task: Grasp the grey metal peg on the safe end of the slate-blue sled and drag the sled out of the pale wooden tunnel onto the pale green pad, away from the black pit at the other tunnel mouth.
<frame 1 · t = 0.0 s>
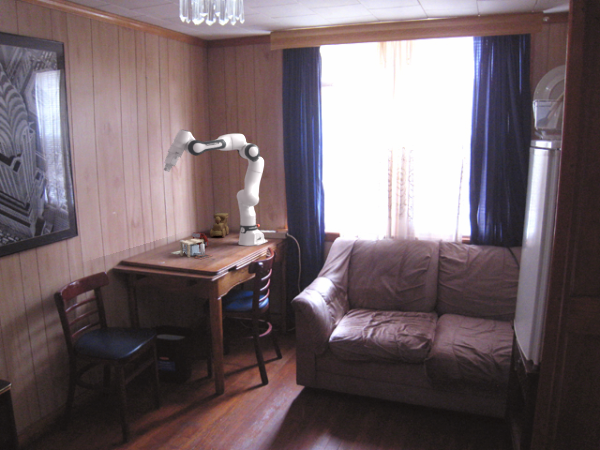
hand: (166, 170, 329), 54 cm above the table, tool tilted 30°, fingers open, 8 cm apart
pit: (203, 257, 323), on the table
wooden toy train: (220, 236, 391), on the table
tunnel: (192, 254, 329), on the table
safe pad: (179, 252, 336), on the table
sled: (192, 248, 328), point 5 cm above the table, slide at 0.0 cm
toy fire truck: (200, 247, 351), on the table
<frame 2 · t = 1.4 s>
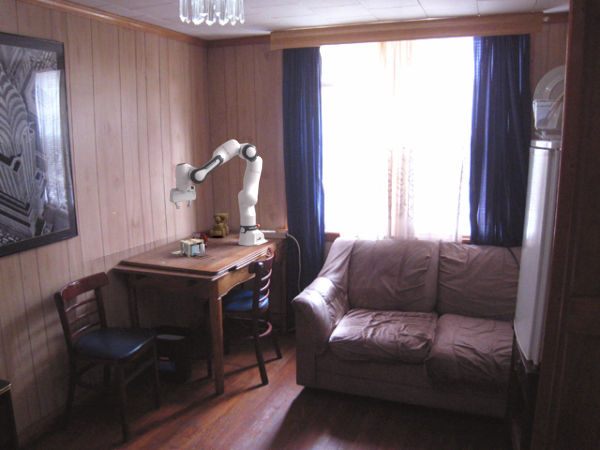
hand: (183, 207, 338), 29 cm above the table, tool pointing down, fingers open, 8 cm apart
nothing on the table moved.
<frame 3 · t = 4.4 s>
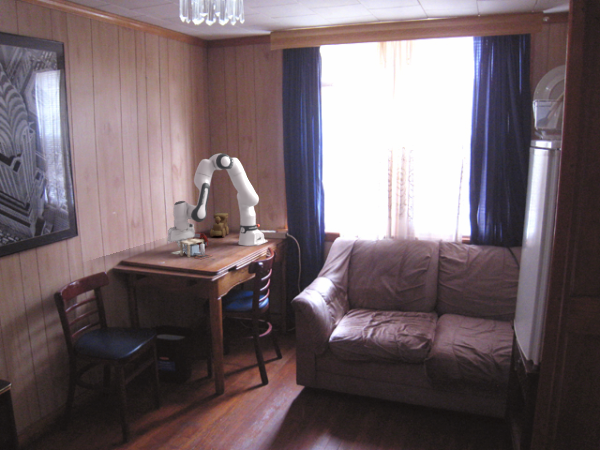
hand: (181, 246, 334), 5 cm above the table, tool pointing down, fingers closed on sled, 3 cm apart
sled: (192, 248, 328), point 5 cm above the table, slide at 0.0 cm, touching gripper
everything else where it was.
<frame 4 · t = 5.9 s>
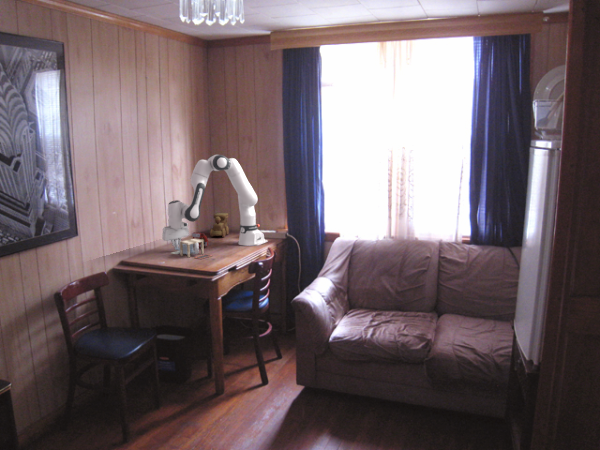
hand: (176, 245, 337), 5 cm above the table, tool pointing down, fingers closed on sled, 3 cm apart
sled: (186, 247, 331), point 5 cm above the table, slide at 5.6 cm, touching gripper
everything else where it was.
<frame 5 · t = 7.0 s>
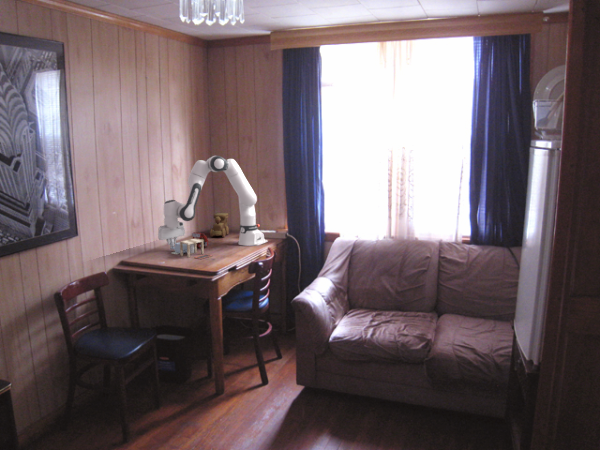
hand: (172, 244, 340), 5 cm above the table, tool pointing down, fingers closed on sled, 2 cm apart
sled: (181, 246, 334), point 5 cm above the table, slide at 9.9 cm, touching gripper
everything else where it was.
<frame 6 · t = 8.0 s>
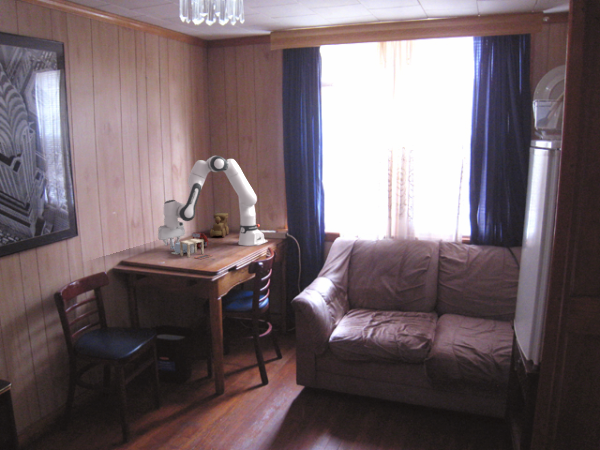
hand: (172, 244, 340), 5 cm above the table, tool pointing down, fingers open, 8 cm apart
sled: (181, 246, 334), point 5 cm above the table, slide at 10.0 cm
everything else where it was.
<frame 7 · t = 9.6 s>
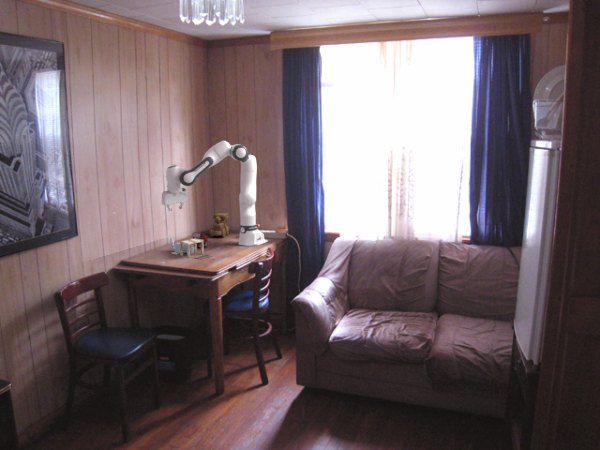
hand: (175, 209, 342), 27 cm above the table, tool pointing down, fingers open, 8 cm apart
nothing on the table moved.
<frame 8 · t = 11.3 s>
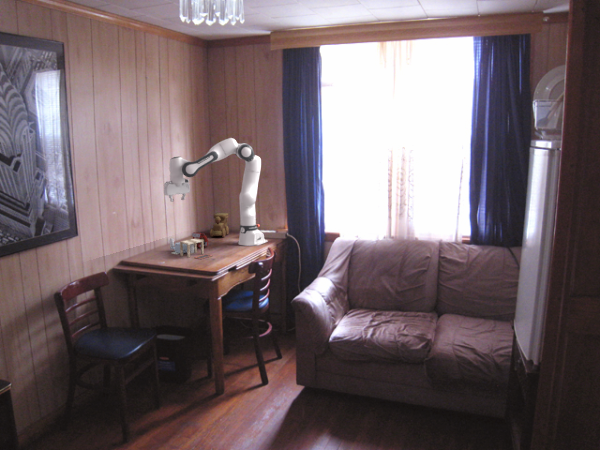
hand: (177, 200, 343), 33 cm above the table, tool pointing down, fingers open, 8 cm apart
nothing on the table moved.
at the end: sled slide at 10.0 cm; the gripper is holding nothing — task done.
